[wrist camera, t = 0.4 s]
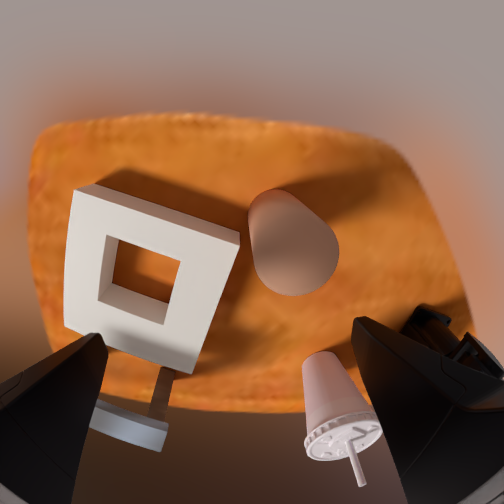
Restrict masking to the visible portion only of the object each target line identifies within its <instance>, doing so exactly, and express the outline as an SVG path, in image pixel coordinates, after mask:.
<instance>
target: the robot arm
mask: <svg viewBox="0 0 504 504" xmlns="http://www.w3.org/2000/svg"><path fill="white" fill-rule="evenodd" d="M450 323H451V318H450V317H449V316H446V315H444V314H441V313H438V312H435V311H432V310H429V309H427V308H424V307H421V306H419V307H417V308H416V309H415V311H414V312H413V314H412V316H411V317H410V319H409V320H408V322H407V324H406V325H405V327H404V328H403V330H402V331H401V333H398V332H396V331H394V330H392V329H390V328H388V327H386V326H384V325H382V324H380V323H378V322H376V321H374V320H372V319H371V318H369V317H366V316H362V317H356V318H355V319H354V321H353V327H352V334H351V343H352V346H353V350H354V353H355V357H356V360H357V364H358V367H359V371H360V374H361V377H362V380H363V383H364V385H365V388H366V390H367V393H368V395H369V397H370V400H371V402H372V405H373V407H374V410H375V412H376V415H377V417H378V420H379V423H380V425H381V428H382V430H383V433H384V436H385V438H386V441H387V443H388V446H389V449H390V452H391V455H392V457H393V460H394V463H395V466H396V469H397V471H398V474H399V477H400V478H401V479H400V481H401V484H402V486H403V489H404V493H405V496H406V499H407V502H408V504H504V380H503V379H502V378H503V377H504V368H503V367H502V365H501V364H500V363H499V361H498V360H497V359H496V357H495V356H494V355H493V354H492V353H491V352H490V351H489V350H488V349H487V348H486V347H485V346H484V345H483V344H482V343H481V342H480V341H479V340H477V339H476V338H475V337H474V336H472V335H471V334H470V333H469V332H467V333H466V334H465V335H464V338H463V339H462V340H461V342H460V340H459V339H458V338H457V337H456V336H455V335H454V334H453V333H452V332H451V331H450V330H449V329H448V328H447V327H448V326H449V324H450ZM107 360H108V349H107V347H106V345H105V342H104V340H103V337H102V335H101V334H100V333H93V332H91V333H88V334H87V335H85V336H83V337H81V338H80V339H78V340H76V341H74V342H73V343H71V344H69V345H67V346H66V347H64V348H62V349H60V350H59V351H57V352H55V353H53V354H52V355H50V356H48V357H46V358H45V359H43V360H41V361H39V362H38V363H36V364H34V365H33V366H31V367H29V368H27V369H26V370H24V372H23V371H22V372H20V373H19V374H17V375H15V376H14V377H12V378H10V379H8V380H6V381H4V382H3V383H1V384H0V504H71V502H72V497H73V491H74V486H75V480H76V475H77V471H78V467H79V462H80V458H81V454H82V450H83V446H84V443H85V439H86V435H87V432H88V428H89V425H90V421H91V418H92V415H93V411H94V408H95V405H96V402H97V399H98V396H99V393H100V389H101V385H102V381H103V377H104V372H105V368H106V364H107Z"/></svg>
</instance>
